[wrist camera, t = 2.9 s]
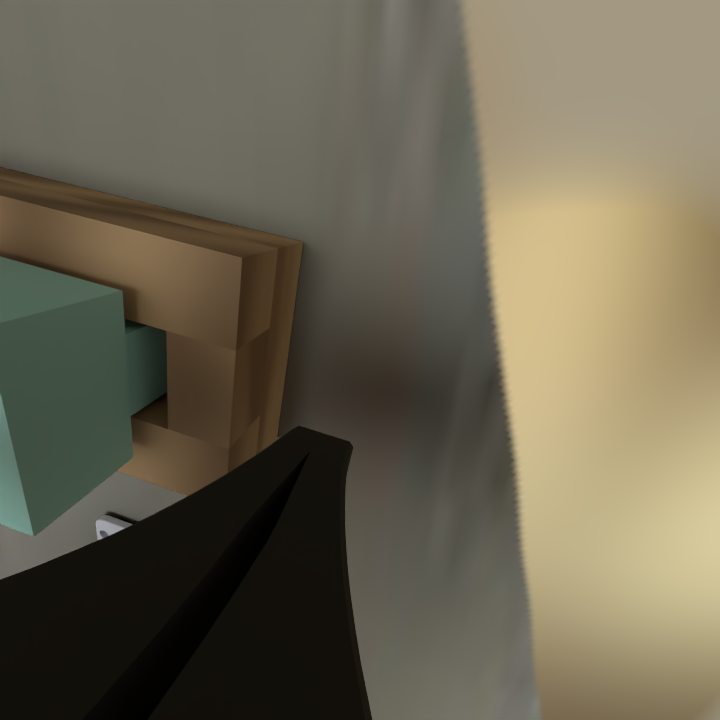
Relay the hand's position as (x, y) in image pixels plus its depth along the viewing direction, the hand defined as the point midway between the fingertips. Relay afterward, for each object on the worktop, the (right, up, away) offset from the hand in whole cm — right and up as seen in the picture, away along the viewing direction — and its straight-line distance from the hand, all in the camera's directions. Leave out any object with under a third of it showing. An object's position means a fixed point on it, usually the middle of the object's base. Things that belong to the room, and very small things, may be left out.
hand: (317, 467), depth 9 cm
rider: (-7, +3, +4) cm, 9 cm away
